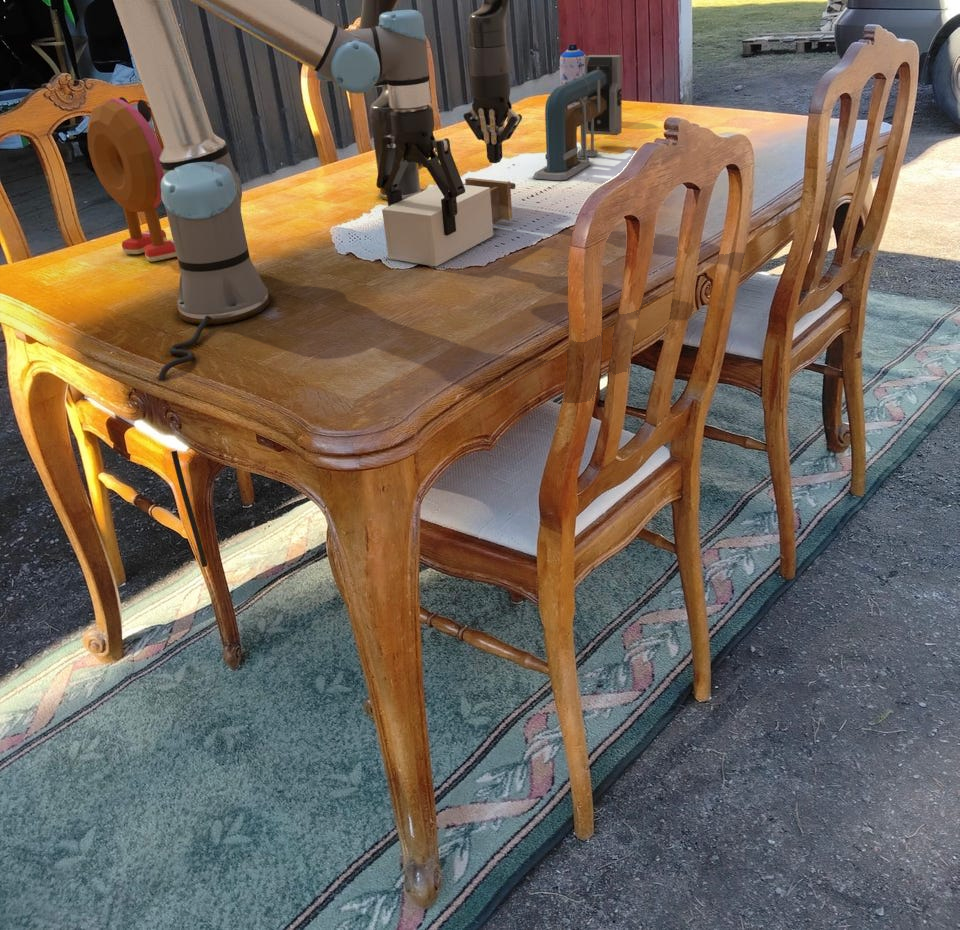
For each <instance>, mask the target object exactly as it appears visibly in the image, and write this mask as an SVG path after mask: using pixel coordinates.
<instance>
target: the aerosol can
mask: <svg viewBox="0 0 960 930" xmlns="http://www.w3.org/2000/svg"><path fill="white" fill-rule="evenodd" d="M586 56H587V55H586V54H585V52H584V51H583V50H581V49H579V48H578V44H577V43H574V44H568V48H567V49H566V50H565V51H563V52H562V53H561V55H560V56H559V79H560V81H559V83H560V84H559V86H562V85H564V84H566V83H568V82H570V81H573V80H575V79H577V78H579V77H581V76H583V75H585V57H586ZM578 104H580V102H574V103H572V104H570V105H568V109H570V108H572V107H574V106H576V105H578Z"/></svg>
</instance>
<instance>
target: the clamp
mask: <svg viewBox="0 0 960 930" xmlns="http://www.w3.org/2000/svg"><path fill="white" fill-rule="evenodd" d="M622 58H623V56H622V55H621V54H589V55H586V57H585V75H583V76H581V77H579V78H577V79H575V80H573V81H570V82H568V83H566V84H564V85H562V86H560V85H559V86H557V87H555V88H554V89H553V91H552V92H551V93H550V94H549V95H548V96H547V99H546V101H545V107H544V120H545V121H544V122H545V123H544V124H545V146H546V147H545V149H546V150H545V151H546V154H545V160H546V165H545V166H544V167H542V168H541V169H538V170H537V171H535V172H534V174H533V176H532V178H533V179H536V180H549V181H551V180H552V181H564V180H568V179H570V178H571V177H572V176H574V175H576V174H577V173H579V172H580V171H582V170H584V169H585V168H587V167H588V166H591V161H590V158H589V157H593V158H594V157H595V156H598V155H599V153H598V150H597V149H595V135H602V136H603V135H605V136H619V135H620V134H621V133H622V129H623V128H622V127H623V125H622V122H623V121H622V120H623V117H622V116H623V115H622V108H623V107H622V104H623V103H622V98H623V95H622V91H623V89H622V87H623V86H622V85H623V82H622V81H623V79H622V78H623V76H622V75H623V74H622V73H623V72H622V71H623V70H622V69H623V68H622V67H623V65H622V61H623V59H622ZM574 102H580V104H578V105H576V106H574V107H572V108H570V109H568V105H570V104H572V103H574ZM579 127H580V148H581V149H580V150H579V149H578V134H577V133H578V128H579ZM587 135H590V149H587Z"/></svg>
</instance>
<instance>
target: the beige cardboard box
mask: <svg viewBox="0 0 960 930" xmlns="http://www.w3.org/2000/svg"><path fill="white" fill-rule="evenodd" d="M464 188H465V193H463V194H461V195H459V196H457V198H456V200H457V211H458V212H457V215H455V222H456V232H454V233H452V234H450V235H444V225H443V215H442V205H441V199H443V198H444V196H443V194H442V192H441V191H440V189H439V187H438V186H437V184H436V185H433V186H431V187H429V188H427V189H424V190H421V192H420V193H418V194H415V195H413V196H411V197H408V198H406V199H404V200H402V201H399V202H397V203H395V204H393V205H390V206H388V205H387V206H386V207H383V208H382V209H381V213H382V220H383V227H384V235H385V242H386V243H385V244H386V250H387V257H388V259H389V260H394V261H400V262H405V263H412V264H417V265H418V264H419V265H424V266H430V267H438V266H440V265H443V264H444V263H446V262H447V261H449V260H451V259H454V258H455V257H457V256H459V255H460V254H462V253H464V252H467V251H468V250H469V249H470V250H471V248H473V247H475V246H478V245H479V244H481V243H483V242H484V241H486V240H488V239H490V238H492V237H494V226H493V225H494V224H492V210H491V196H490V188H489V187H480V186H471V185H464ZM448 191H449V190H448Z"/></svg>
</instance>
